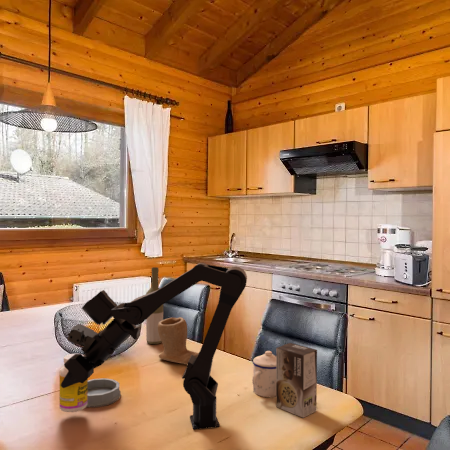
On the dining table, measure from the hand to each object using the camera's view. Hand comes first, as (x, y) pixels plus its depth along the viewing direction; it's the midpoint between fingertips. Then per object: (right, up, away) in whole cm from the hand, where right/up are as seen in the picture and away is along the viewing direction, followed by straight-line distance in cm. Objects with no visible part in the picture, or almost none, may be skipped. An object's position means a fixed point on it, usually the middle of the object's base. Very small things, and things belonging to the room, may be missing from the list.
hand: (68, 380), depth 105 cm
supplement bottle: (+1, -7, 0) cm, 7 cm away
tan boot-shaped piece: (+23, -9, +41) cm, 48 cm away
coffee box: (+58, -10, +6) cm, 59 cm away
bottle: (+11, -8, +62) cm, 64 cm away
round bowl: (+4, -9, +11) cm, 15 cm away
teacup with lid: (+51, -9, +16) cm, 54 cm away
